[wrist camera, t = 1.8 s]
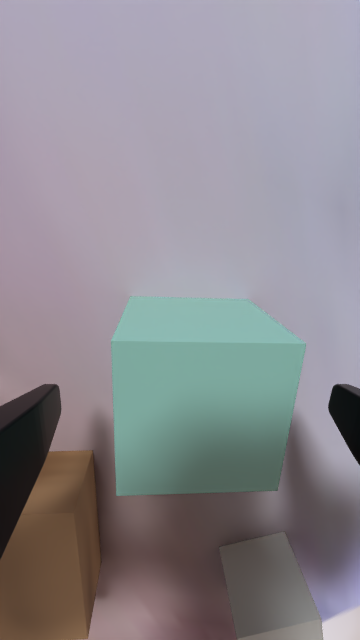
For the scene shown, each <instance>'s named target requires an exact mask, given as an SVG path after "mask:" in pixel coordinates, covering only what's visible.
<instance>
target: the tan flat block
mask: <svg viewBox="0 0 360 640" xmlns="http://www.w3.org/2000/svg"><path fill="white" fill-rule="evenodd" d="M100 566H101V552H100V539H99V526H98V513H97V500H96V487H95V474H94V461H93V450H90V451H55V452H48V455H47V457H46V460H45V463H44V465H43V467H42V470H41V472H40V474H39V476H38V478H37V481H36V483H35V485H34V487H33V489H32V492H31V494H30V496H29V498H28V500H27V503H26V505H25V507H24V509H23V511H22V514H21V516H20V518H19V520H18V522H17V525H16V527H15V529H14V531H13V533H12V536H11V538H10V540H9V542H8V544H7V547H6V549H5V551H4V553H3V555H2V558H1V560H0V640H76V639H88V634H89V629H90V623H91V617H92V612H93V606H94V600H95V595H96V589H97V583H98V577H99V572H100Z"/></svg>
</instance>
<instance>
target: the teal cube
mask: <svg viewBox="0 0 360 640" xmlns="http://www.w3.org/2000/svg"><path fill="white" fill-rule="evenodd" d="M305 348H306V343H305V342H304V341H302V340H301V339H300V338H298V337H297V336H296V335H294V334H293V333H292V332H290V331H289V330H288V329H286V328H285V327H284V326H283V325H281V324H280V323H279V322H277V321H276V320H275V319H273V318H272V317H271V316H269V315H268V314H267V313H266V312H264V311H263V310H262V309H260V308H259V307H258V306H256V305H255V304H254V303H252V302H251V301H250V300H248V299H213V298H175V297H137V296H130V299H129V301H128V303H127V306H126V308H125V310H124V313H123V315H122V317H121V319H120V322H119V324H118V326H117V329H116V331H115V333H114V336H113V338H112V340H111V352H112V382H113V412H114V442H115V472H116V496H128V495H159V494H191V493H222V492H254V491H278V486H279V480H280V475H281V470H282V465H283V460H284V455H285V450H286V445H287V440H288V435H289V429H290V424H291V419H292V414H293V409H294V404H295V399H296V394H297V389H298V384H299V378H300V373H301V368H302V363H303V358H304V353H305Z"/></svg>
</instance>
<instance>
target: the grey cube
mask: <svg viewBox="0 0 360 640" xmlns="http://www.w3.org/2000/svg"><path fill="white" fill-rule="evenodd" d="M219 550H220V555H221V560H222V565H223V570H224V575H225V581H226V586H227V591H228V596H229V601H230V606H231V612H232V617H233V622H234V627H235V632H236V637H237V640H323V633H322V621H321V617H320V615H319V612H318V610H317V607H316V605H315V603H314V600H313V598H312V596H311V593H310V591H309V588H308V586H307V584H306V581H305V579H304V577H303V574H302V572H301V569H300V567H299V565H298V562H297V560H296V558H295V555H294V553H293V550H292V548H291V546H290V543H289V541H288V539H287V536H286V534H285V532H280V533H275V534H271V535H267V536H263V537H259V538H254V539H250V540H246V541H242V542H237V543H233V544H229V545H225V546H220V547H219Z"/></svg>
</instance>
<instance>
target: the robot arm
mask: <svg viewBox="0 0 360 640" xmlns="http://www.w3.org/2000/svg"><path fill="white" fill-rule="evenodd" d="M328 408H329V412H330V415H331V416H332V418H333V420H334V422H335V424H336V426H337V427H338V429H339V431H340V433H341V435H342V436H343V438H344V440H345V442H346V444H347V446H348V447H349V449H350V451H351V453H352V454H353V456H354V457H355V459H356V461H357V462H358V464H359V465H360V389H359V388H356V387H354V386H351V385H348V384H336V385H334V386H333V388H332V392H331V397H330V401H329V405H328ZM60 415H61V400H60V390H59V386H58V385H57V384H44V385H42V386H40V387H38V388H36V389H34V390H32V391H30V392H28V393H26V394H24V395H22V396H20V397H18V398H16V399H14V400H12V401H10V402H8V403H6V404H4V405H2V406H0V560H1V558H2V555H3V553H4V551H5V549H6V547H7V544H8V542H9V540H10V538H11V536H12V533H13V531H14V529H15V527H16V525H17V522H18V520H19V518H20V516H21V514H22V511H23V509H24V507H25V505H26V503H27V500H28V498H29V496H30V494H31V492H32V489H33V487H34V485H35V483H36V481H37V478H38V476H39V474H40V472H41V470H42V467H43V465H44V463H45V460H46V457H47V455H48V452H49V449H50V445H51V442H52V439H53V436H54V433H55V430H56V427H57V424H58V421H59V418H60Z"/></svg>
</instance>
